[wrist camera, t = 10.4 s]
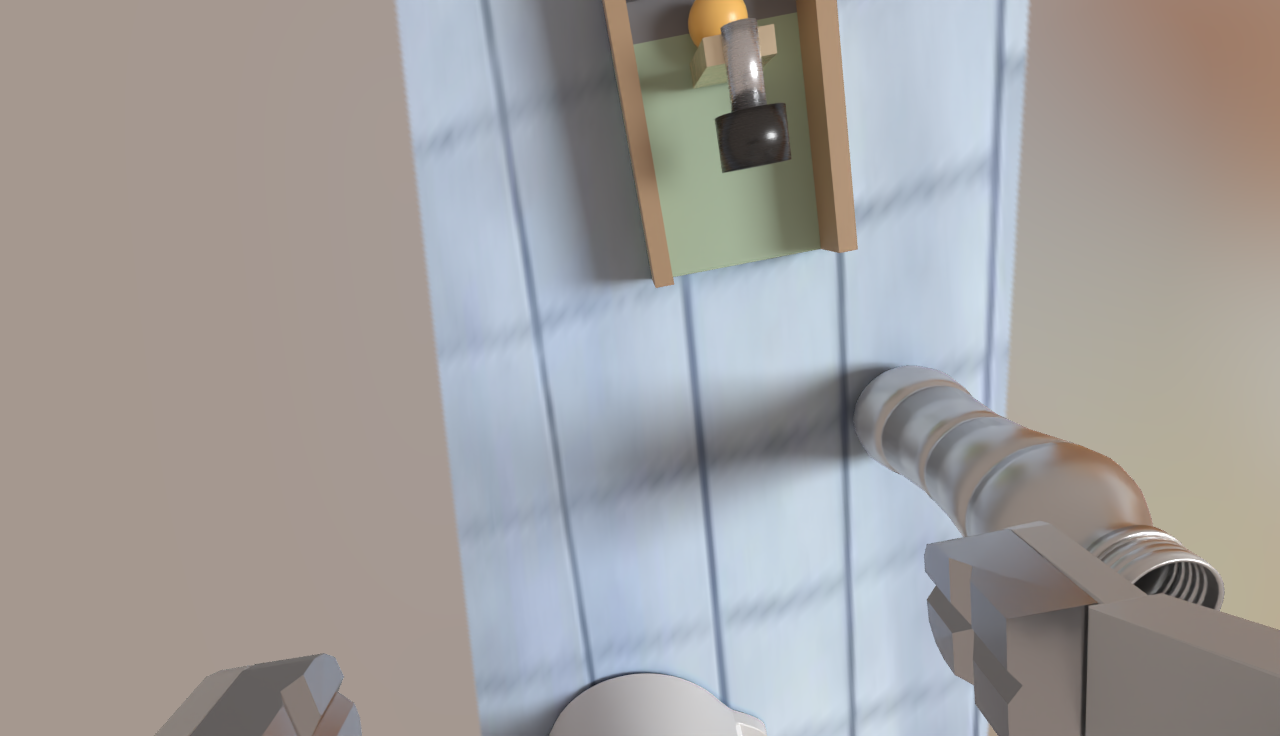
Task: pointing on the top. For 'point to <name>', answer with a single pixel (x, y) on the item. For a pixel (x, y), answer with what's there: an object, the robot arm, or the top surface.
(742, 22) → the glass stem black base
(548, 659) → the top surface
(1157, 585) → the plastic bottle
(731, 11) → the ball
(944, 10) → the top surface
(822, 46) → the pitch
